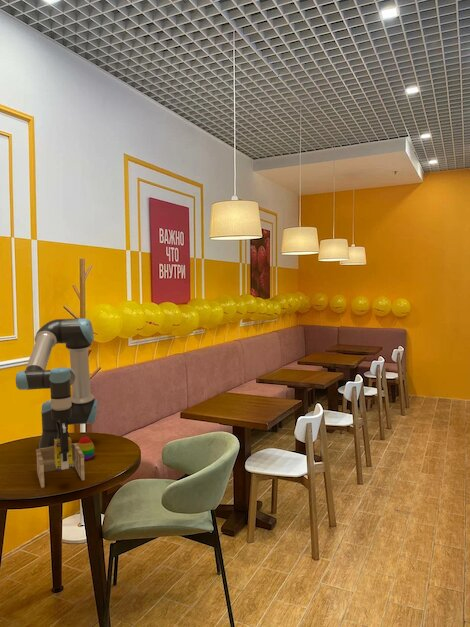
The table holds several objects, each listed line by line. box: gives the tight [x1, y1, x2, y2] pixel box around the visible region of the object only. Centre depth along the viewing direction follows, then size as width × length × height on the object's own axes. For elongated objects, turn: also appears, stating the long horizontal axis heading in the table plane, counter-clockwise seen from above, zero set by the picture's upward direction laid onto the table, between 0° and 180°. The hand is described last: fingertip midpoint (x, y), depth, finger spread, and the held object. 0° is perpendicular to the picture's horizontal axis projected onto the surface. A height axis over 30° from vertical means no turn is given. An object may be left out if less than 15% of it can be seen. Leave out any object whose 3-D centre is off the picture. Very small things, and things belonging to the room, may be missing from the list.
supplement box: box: [54, 436, 74, 472], centre depth 189 cm, size 6×6×11 cm
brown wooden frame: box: [35, 442, 86, 489], centre depth 200 cm, size 19×17×10 cm
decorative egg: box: [76, 436, 95, 461], centre depth 221 cm, size 8×8×10 cm
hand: (63, 465), depth 189 cm, fingers closed on supplement box, 6 cm apart
